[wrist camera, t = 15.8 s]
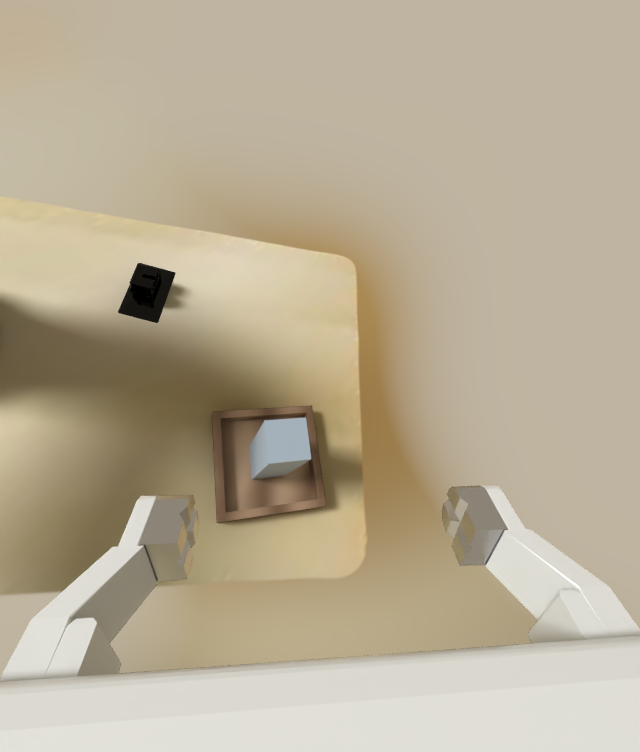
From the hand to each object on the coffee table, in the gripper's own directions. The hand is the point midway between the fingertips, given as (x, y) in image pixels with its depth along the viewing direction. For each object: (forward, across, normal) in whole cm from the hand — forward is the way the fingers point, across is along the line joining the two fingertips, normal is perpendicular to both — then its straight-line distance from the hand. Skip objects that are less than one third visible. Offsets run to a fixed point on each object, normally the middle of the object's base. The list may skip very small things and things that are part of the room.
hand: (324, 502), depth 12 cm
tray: (+29, -4, -29) cm, 41 cm away
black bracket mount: (+48, -22, -12) cm, 54 cm away
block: (+29, -4, -28) cm, 40 cm away
